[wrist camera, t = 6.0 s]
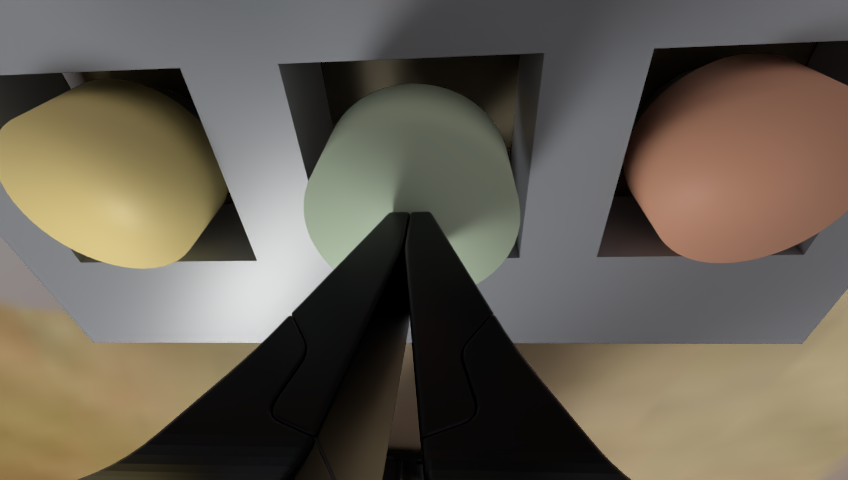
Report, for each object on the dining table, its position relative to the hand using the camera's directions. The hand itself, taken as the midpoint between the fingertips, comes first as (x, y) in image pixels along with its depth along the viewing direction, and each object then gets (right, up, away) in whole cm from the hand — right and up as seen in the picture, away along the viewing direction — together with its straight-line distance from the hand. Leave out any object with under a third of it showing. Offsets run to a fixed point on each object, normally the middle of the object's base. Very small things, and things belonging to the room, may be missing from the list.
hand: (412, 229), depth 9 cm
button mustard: (-7, +3, +4) cm, 9 cm away
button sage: (0, +2, +3) cm, 3 cm away
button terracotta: (+8, +3, +3) cm, 9 cm away
